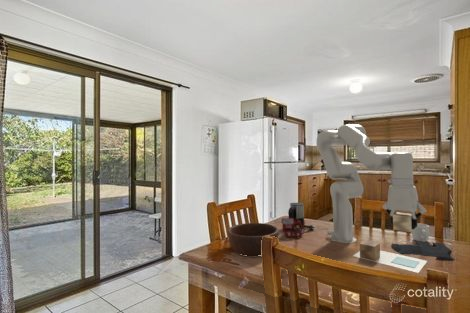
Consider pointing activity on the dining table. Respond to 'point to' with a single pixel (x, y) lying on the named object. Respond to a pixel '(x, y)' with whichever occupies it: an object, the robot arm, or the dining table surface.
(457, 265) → the dining table surface
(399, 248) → the dark slate chunk
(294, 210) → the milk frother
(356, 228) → the dining table surface
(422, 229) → the cup
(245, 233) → the wooden bowl
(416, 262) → the build plate
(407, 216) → the birch block
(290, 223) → the toy fire truck
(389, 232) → the dining table surface
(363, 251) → the walnut block
